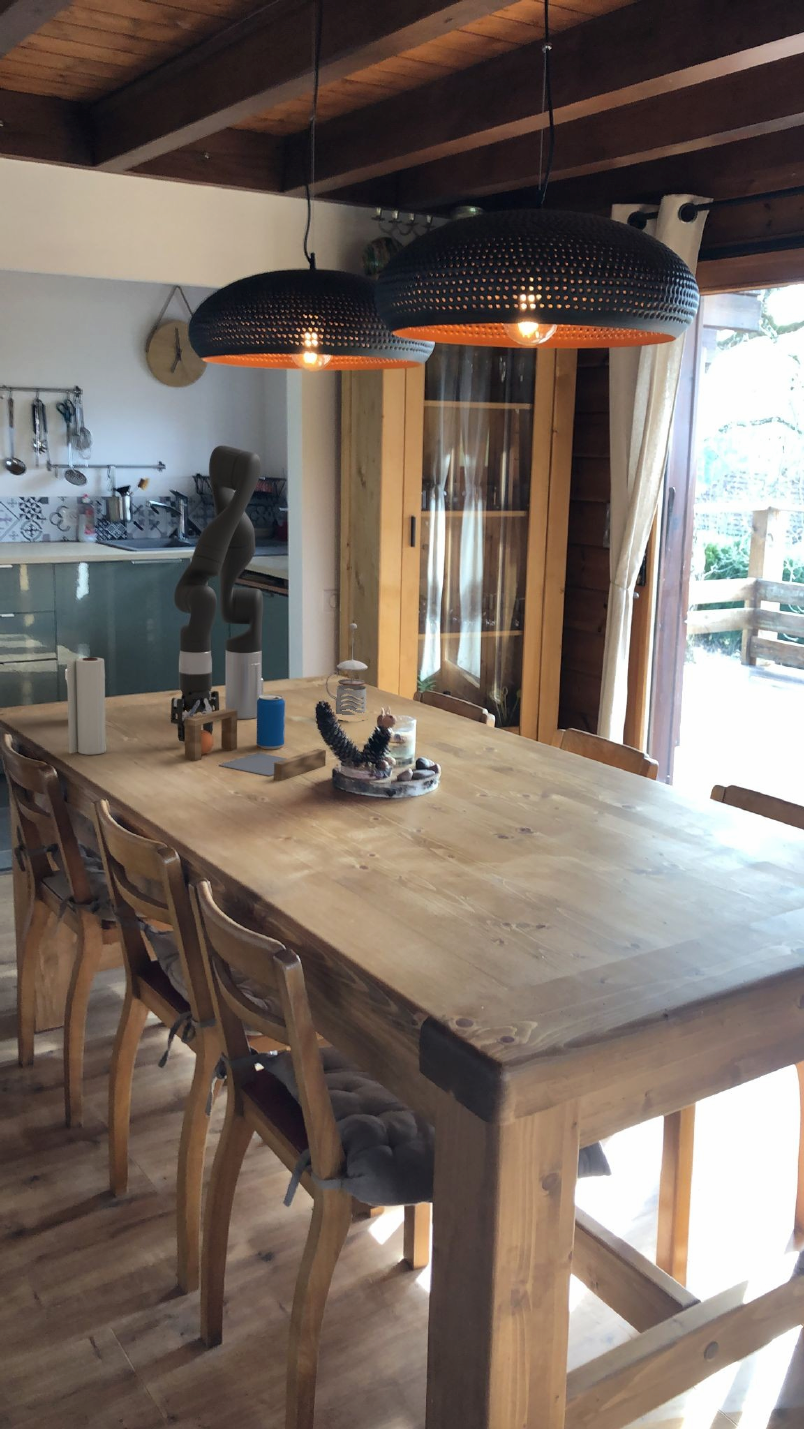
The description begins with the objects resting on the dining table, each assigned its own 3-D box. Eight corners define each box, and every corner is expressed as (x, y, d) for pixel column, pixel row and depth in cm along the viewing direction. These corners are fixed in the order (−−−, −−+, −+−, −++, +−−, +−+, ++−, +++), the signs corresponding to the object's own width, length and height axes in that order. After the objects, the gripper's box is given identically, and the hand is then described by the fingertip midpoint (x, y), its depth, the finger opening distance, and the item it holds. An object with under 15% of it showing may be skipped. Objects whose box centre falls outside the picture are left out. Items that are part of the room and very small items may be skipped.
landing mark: (258, 753, 273) (258, 752, 273) (308, 763, 266) (308, 762, 266) (218, 765, 261) (218, 764, 261) (269, 776, 254) (269, 775, 254)
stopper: (318, 764, 266) (318, 748, 265) (325, 765, 265) (325, 750, 264) (273, 778, 253) (274, 762, 252) (281, 780, 252) (281, 764, 251)
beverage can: (282, 750, 277) (283, 699, 274) (254, 749, 277) (255, 698, 274) (285, 744, 283) (286, 694, 281) (258, 742, 283) (259, 693, 281)
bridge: (184, 759, 266) (184, 718, 264) (226, 746, 278) (227, 708, 276) (195, 761, 265) (195, 720, 263) (236, 748, 277) (237, 710, 275)
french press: (368, 722, 309) (371, 626, 304) (323, 720, 309) (326, 625, 304) (370, 714, 319) (373, 621, 313) (326, 712, 319) (328, 619, 313)
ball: (220, 750, 271) (203, 757, 274) (216, 727, 272) (198, 734, 275) (203, 749, 266) (186, 756, 269) (199, 726, 267) (181, 733, 270)
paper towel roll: (109, 749, 272) (108, 657, 267) (100, 756, 266) (98, 661, 261) (78, 747, 272) (76, 655, 268) (69, 754, 266) (66, 659, 262)
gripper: (186, 675, 269) (187, 746, 272) (228, 667, 280) (227, 735, 284) (161, 671, 272) (162, 741, 276) (203, 664, 284) (203, 730, 288)
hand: (195, 737), depth 280 cm, fingers open, 8 cm apart
